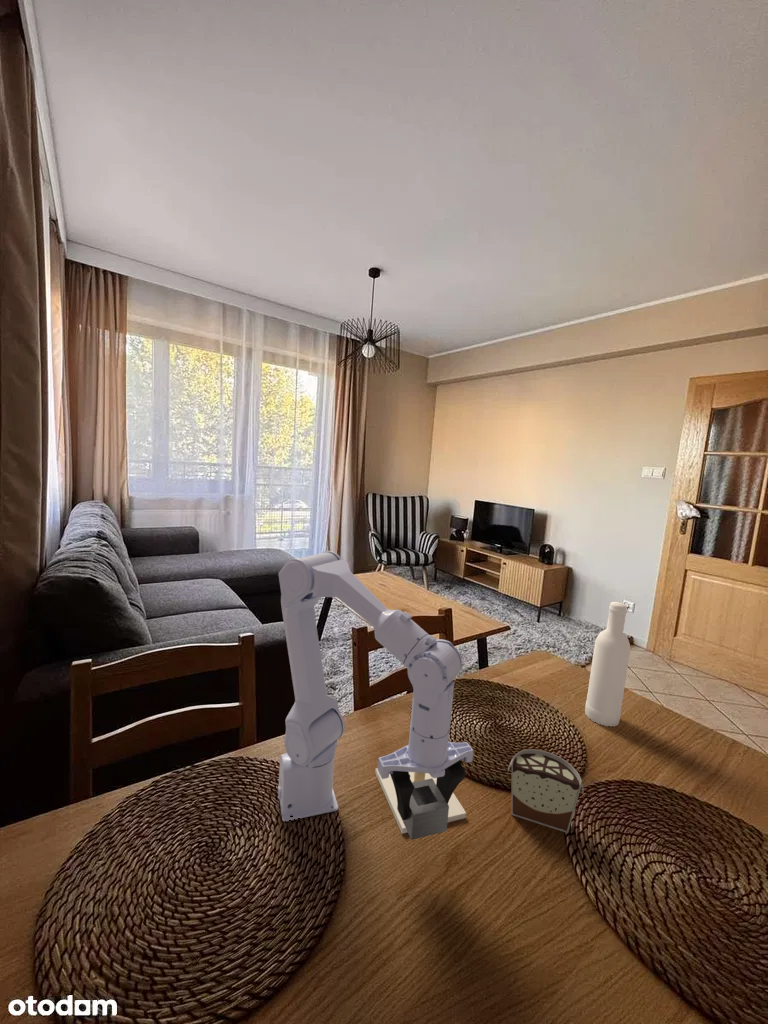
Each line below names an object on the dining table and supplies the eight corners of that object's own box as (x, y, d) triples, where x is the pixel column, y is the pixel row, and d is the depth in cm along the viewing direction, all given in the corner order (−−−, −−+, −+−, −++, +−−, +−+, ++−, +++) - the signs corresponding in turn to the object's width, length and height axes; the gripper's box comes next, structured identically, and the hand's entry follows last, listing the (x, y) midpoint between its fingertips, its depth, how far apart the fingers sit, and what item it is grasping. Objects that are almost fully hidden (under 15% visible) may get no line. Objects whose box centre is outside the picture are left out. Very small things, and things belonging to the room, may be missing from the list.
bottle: (587, 704, 113) (603, 596, 110) (621, 716, 109) (638, 604, 105) (581, 718, 107) (598, 603, 103) (616, 731, 102) (635, 612, 99)
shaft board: (401, 833, 70) (404, 803, 69) (375, 773, 83) (377, 747, 82) (465, 818, 74) (468, 789, 74) (430, 762, 87) (433, 737, 87)
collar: (411, 840, 60) (413, 814, 60) (397, 808, 65) (399, 785, 65) (446, 831, 62) (449, 806, 62) (430, 801, 67) (432, 778, 67)
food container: (574, 809, 78) (581, 759, 77) (577, 836, 72) (585, 782, 71) (504, 787, 82) (510, 739, 81) (502, 811, 76) (508, 760, 75)
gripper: (393, 752, 56) (385, 844, 57) (488, 736, 61) (478, 821, 62) (376, 720, 62) (369, 803, 64) (463, 707, 67) (454, 785, 69)
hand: (421, 810), depth 64 cm, fingers closed on collar, 6 cm apart
